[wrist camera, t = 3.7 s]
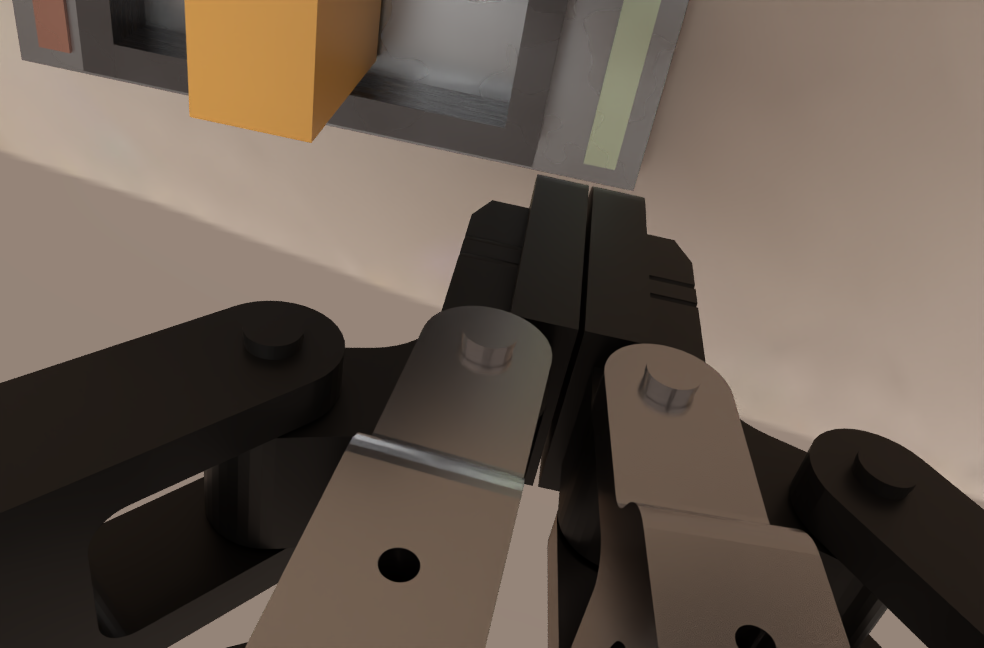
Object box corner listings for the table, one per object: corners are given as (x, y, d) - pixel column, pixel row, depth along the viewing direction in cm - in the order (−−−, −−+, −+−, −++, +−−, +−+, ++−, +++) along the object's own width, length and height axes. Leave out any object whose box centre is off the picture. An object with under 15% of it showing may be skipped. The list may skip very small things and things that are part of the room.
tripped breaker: (278, 39, 20) (189, 117, 16) (281, -96, 19) (182, -48, 15) (376, 60, 20) (311, 142, 16) (387, -74, 19) (318, -19, 15)
